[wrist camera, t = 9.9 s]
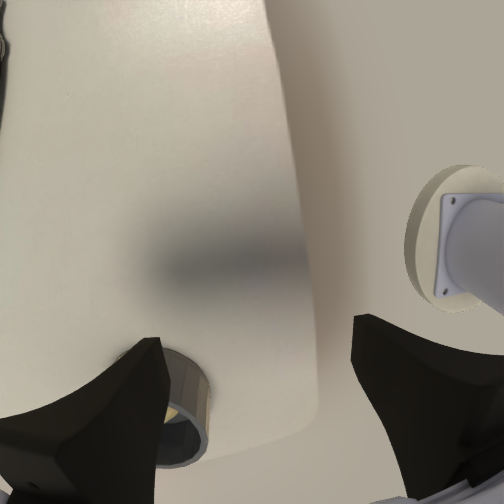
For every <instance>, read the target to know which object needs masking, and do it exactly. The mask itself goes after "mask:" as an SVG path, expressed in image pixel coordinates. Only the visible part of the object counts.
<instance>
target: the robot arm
mask: <svg viewBox="0 0 504 504" xmlns="http://www.w3.org/2000/svg"><path fill="white" fill-rule="evenodd" d="M451 198H452V199H453V201H452V203H451ZM444 289H445V291H444ZM443 291H444V292H443ZM465 292H469V293H471V294H472V295H474V296H475V297H477V298H478V299H480V300H481V301H483V302H484V303H486V304H487V305H489V306H490V307H492V308H494V309H495V310H496V311H498V312H499V313H501V314H502V315H503V316H504V193H445V194H443V195H442V196H441V200H440V227H439V243H438V256H437V266H436V276H435V284H434V296H435V297H437V298H444V297H448V296H453V295H457V294H461V293H465ZM351 363H352V365H353V368H354V371H355V373H356V376H357V378H358V381H359V383H360V384H361V386H362V388H363V390H364V391H365V393H366V395H367V397H368V399H369V400H370V402H371V404H372V406H373V407H374V409H375V411H376V412H377V414H378V416H379V418H380V420H381V421H382V424H383V426H384V427H385V430H386V432H387V435H388V437H389V440H390V442H391V445H392V447H393V450H394V453H395V456H396V459H397V462H398V465H399V468H400V471H401V475H402V478H403V481H404V485H405V488H406V492H407V496H408V498H405V497H399V496H398V497H395V498H390V499H385V500H381V501H376V502H373V503H370V504H504V355H490V354H481V353H474V352H469V351H464V350H459V349H455V348H452V347H448V346H444V345H441V344H438V343H435V342H432V341H430V340H427V339H425V338H422V337H420V336H417V335H415V334H412V333H410V332H408V331H406V330H404V329H402V328H399V327H397V326H395V325H393V324H391V323H389V322H387V321H385V320H383V319H381V318H378V317H376V316H374V315H371V314H364V315H358V316H354V323H353V337H352V350H351ZM170 387H171V379H170V375H169V371H168V368H167V364H166V360H165V357H164V353H163V349H162V345H161V341H160V337H152V338H143V339H142V340H141V341H139V342H138V343H137V344H136V345H135V346H133V347H132V348H131V349H130V350H129V351H128V352H127V353H125V354H124V355H123V356H122V357H121V358H120V359H119V360H117V361H116V362H115V363H114V364H113V365H111V366H110V367H109V368H108V369H106V370H105V371H104V372H102V373H101V374H100V375H99V376H97V377H96V378H95V379H93V380H92V381H90V382H89V383H87V384H86V385H84V386H83V387H81V388H80V389H78V390H76V391H75V392H73V393H71V394H69V395H67V396H65V397H63V398H61V399H59V400H57V401H55V402H53V403H51V404H48V405H46V406H43V407H41V408H38V409H35V410H32V411H29V412H26V413H22V414H18V415H14V416H10V417H6V418H1V419H0V475H1V476H2V477H3V479H4V480H5V481H6V482H7V483H8V484H9V485H10V486H11V487H12V488H13V491H12V493H11V495H8V494H7V493H5V492H4V491H2V490H1V489H0V504H154V487H155V471H156V459H157V453H158V447H159V443H160V439H161V434H162V430H163V426H164V422H165V418H166V413H167V409H168V405H169V398H170Z"/></svg>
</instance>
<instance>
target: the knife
mask: <svg viewBox="0 0 504 504" xmlns="http://www.w3.org/2000/svg"><path fill="white" fill-rule="evenodd" d="M2 2H3V1H2V0H0V10H1V6H2ZM4 52H5V42H4V40H3V39H2V36H1V35H0V72H1V60H2V58H3V56H4Z"/></svg>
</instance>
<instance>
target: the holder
mask: <svg viewBox="0 0 504 504" xmlns="http://www.w3.org/2000/svg"><path fill="white" fill-rule="evenodd" d="M162 349H163V353H164V357H165V360H166V364H167V368H168V371H169V375H170V379H171V387H170V398H169V405H168V407H170V408H173V409H175V410H177V411H178V413H177V414H176V415H175V416H174V417H173V418H171V419H170V420H168V421H167V422H166V423H164V426H163V430H162V434H161V439H160V443H159V447H158V453H157V459H156V468H161V469H173V468H179V467H185V466H187V465H190V464H192V463H194V462H196V461H198V460H199V459H200V458H201V457H202V456H203V454H204V453H205V452H206V449H207V445H208V441H209V419H210V399H211V397H210V386H209V383H208V380H207V378H206V376H205V375H204V373H203V372H202V370H201V369H200V368H199V367H198V366H197V365H196V364H195V363H194V362H193V361H191V360H190V359H188V358H187V357H185V356H183V355H182V354H179V353H177V352H175V351H172V350H169V349H165V348H162ZM127 352H128V351H127ZM127 352H125V353H127ZM125 353H123V354H122V355H121V356H120V357H119V358H118V359H117V360H119V359H120V358H121V357H122V356H123V355H124V354H125ZM117 360H116V361H117ZM116 361H115V362H116Z"/></svg>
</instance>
